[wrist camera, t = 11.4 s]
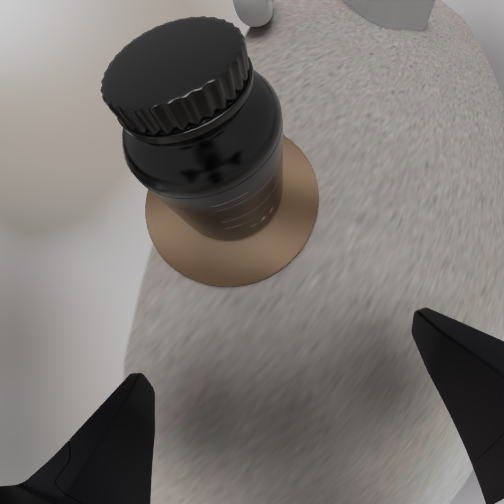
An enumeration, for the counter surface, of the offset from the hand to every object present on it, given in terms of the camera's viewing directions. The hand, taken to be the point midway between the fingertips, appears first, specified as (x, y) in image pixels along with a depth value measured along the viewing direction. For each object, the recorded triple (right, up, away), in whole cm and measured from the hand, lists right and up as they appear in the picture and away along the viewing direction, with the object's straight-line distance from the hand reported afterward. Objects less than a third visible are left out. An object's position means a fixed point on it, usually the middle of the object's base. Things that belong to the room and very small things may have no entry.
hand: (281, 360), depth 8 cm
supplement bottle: (-2, +7, +10) cm, 13 cm away
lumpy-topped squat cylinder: (+17, +37, +15) cm, 43 cm away
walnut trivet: (-2, +7, +11) cm, 13 cm away
